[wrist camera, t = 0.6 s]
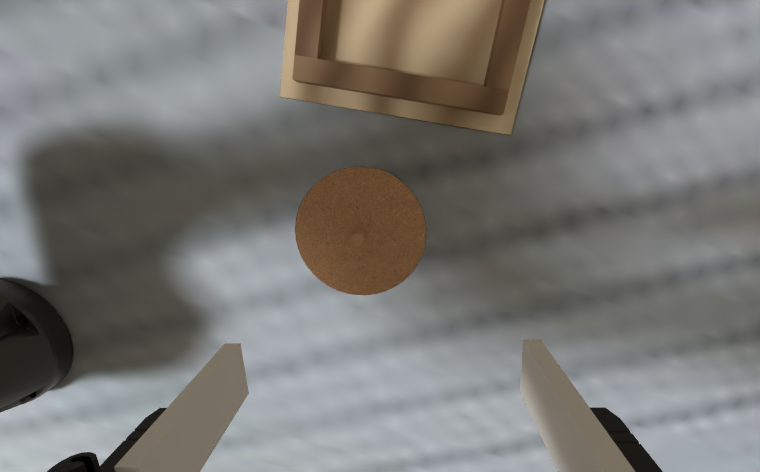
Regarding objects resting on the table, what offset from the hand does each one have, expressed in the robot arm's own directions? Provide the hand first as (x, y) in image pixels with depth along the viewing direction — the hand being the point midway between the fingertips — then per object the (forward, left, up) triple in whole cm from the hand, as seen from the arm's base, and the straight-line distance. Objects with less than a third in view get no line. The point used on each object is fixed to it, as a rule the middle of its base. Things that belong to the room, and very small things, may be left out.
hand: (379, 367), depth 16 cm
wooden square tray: (-2, +24, -21) cm, 31 cm away
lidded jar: (-3, +3, -21) cm, 21 cm away
